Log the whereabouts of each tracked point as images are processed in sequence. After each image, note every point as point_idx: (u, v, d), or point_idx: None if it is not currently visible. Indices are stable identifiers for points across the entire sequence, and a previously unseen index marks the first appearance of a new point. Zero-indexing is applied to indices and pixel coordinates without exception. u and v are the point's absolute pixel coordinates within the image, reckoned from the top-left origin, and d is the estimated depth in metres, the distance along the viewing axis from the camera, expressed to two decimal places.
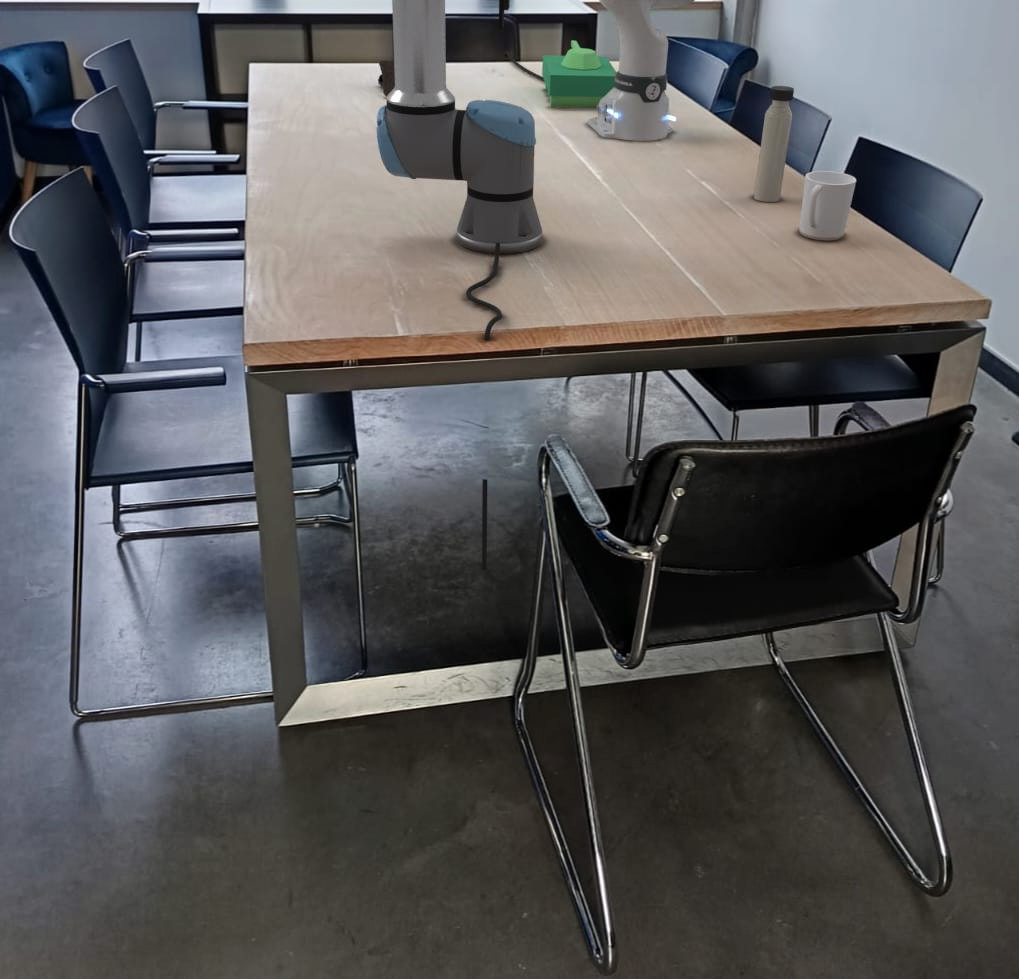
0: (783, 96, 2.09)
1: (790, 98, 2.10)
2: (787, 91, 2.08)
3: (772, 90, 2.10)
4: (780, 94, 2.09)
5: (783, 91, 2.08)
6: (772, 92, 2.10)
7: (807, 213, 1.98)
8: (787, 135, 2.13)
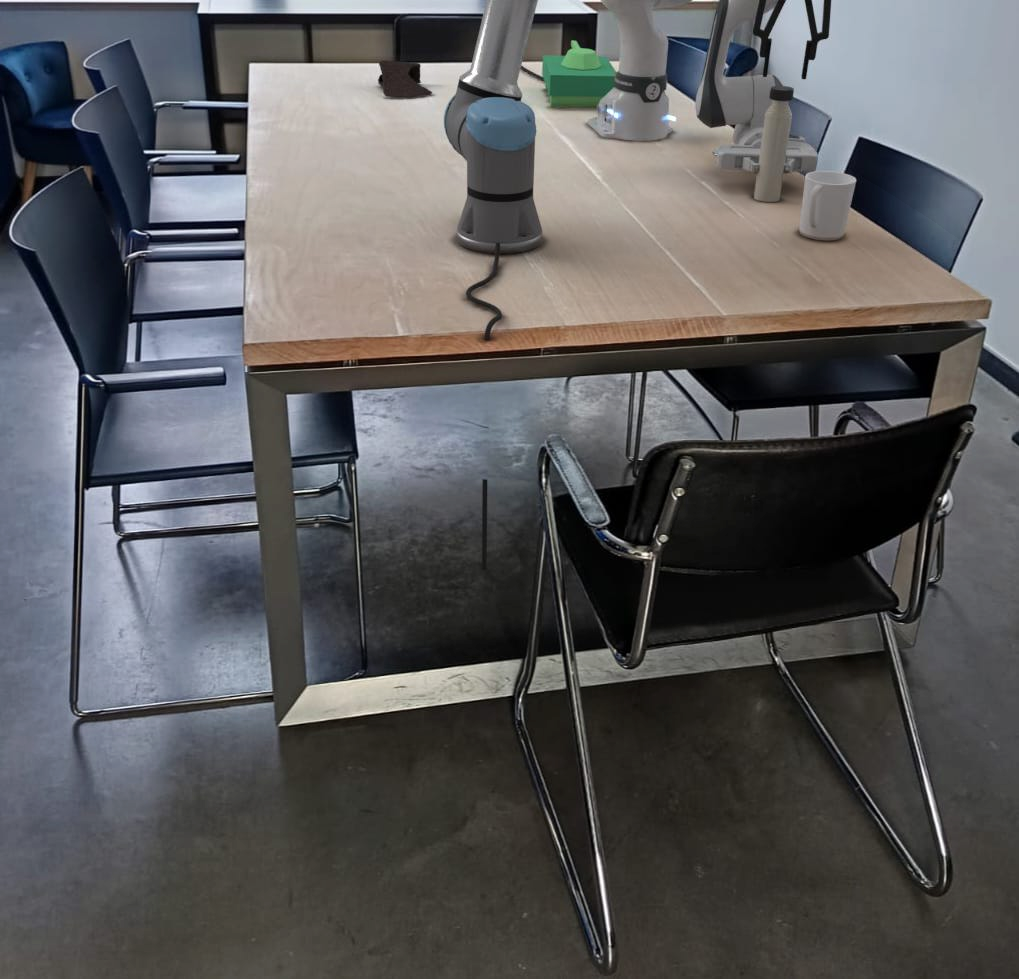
0: (783, 96, 2.09)
1: (790, 98, 2.10)
2: (787, 91, 2.08)
3: (772, 90, 2.10)
4: (780, 94, 2.09)
5: (783, 91, 2.08)
6: (772, 92, 2.10)
7: (807, 213, 1.98)
8: (787, 135, 2.13)
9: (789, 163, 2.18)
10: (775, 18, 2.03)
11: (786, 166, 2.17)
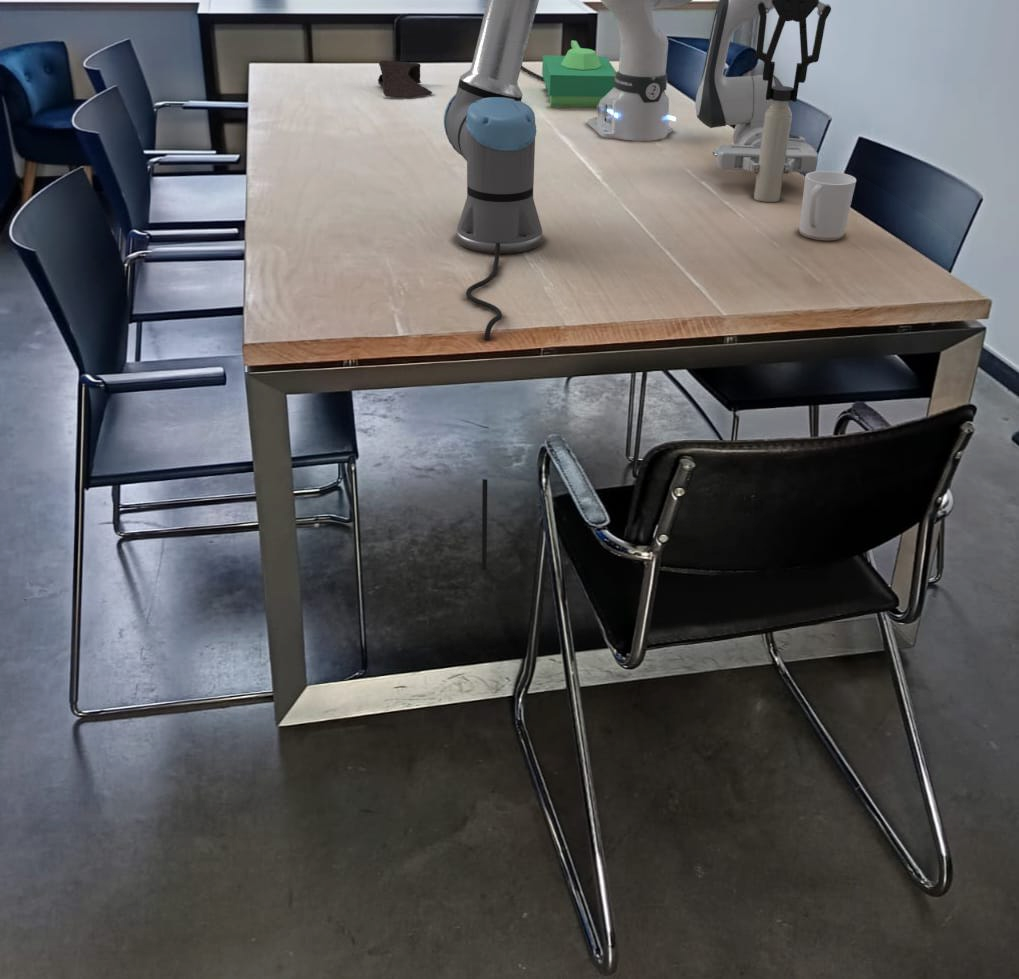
0: (783, 96, 2.09)
1: (790, 98, 2.10)
2: (787, 91, 2.08)
3: (772, 90, 2.10)
4: (780, 94, 2.09)
5: (783, 91, 2.08)
6: (772, 92, 2.10)
7: (807, 213, 1.98)
8: (787, 135, 2.13)
9: (789, 163, 2.18)
10: (776, 41, 2.05)
11: (786, 166, 2.17)
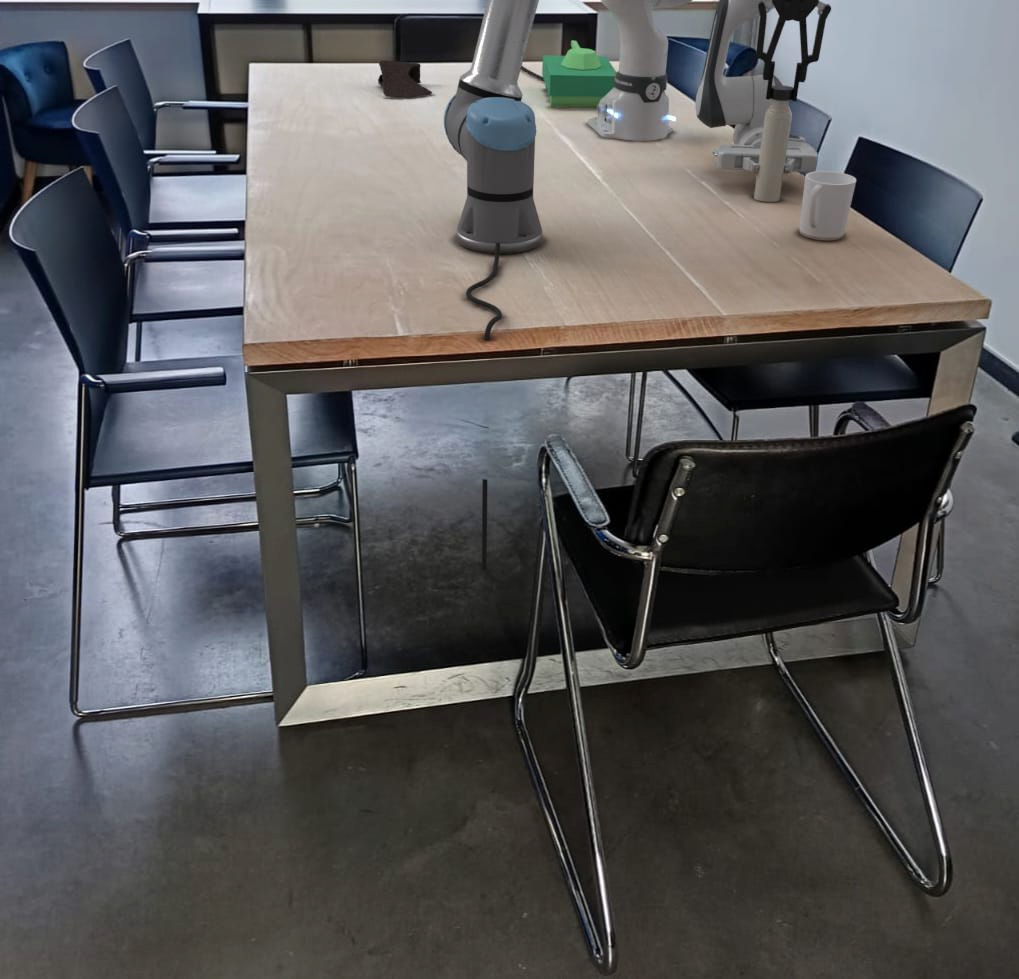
0: None
1: None
2: None
3: (787, 91, 2.08)
4: None
5: (793, 89, 2.10)
6: (787, 93, 2.09)
7: (807, 213, 1.98)
8: (787, 135, 2.13)
9: (789, 163, 2.18)
10: (776, 40, 2.05)
11: (786, 166, 2.17)
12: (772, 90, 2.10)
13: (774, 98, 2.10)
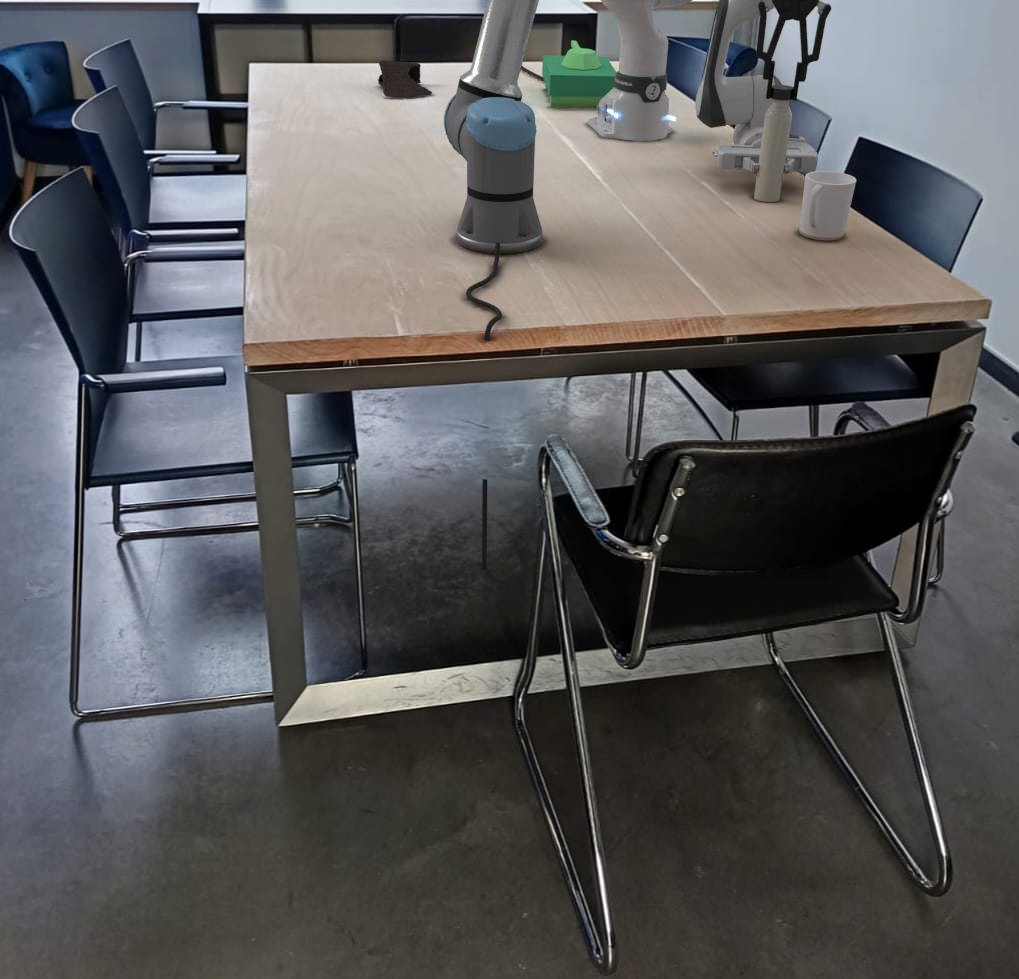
0: None
1: None
2: None
3: None
4: None
5: None
6: None
7: (807, 213, 1.98)
8: (787, 135, 2.13)
9: (789, 163, 2.18)
10: (776, 40, 2.05)
11: (786, 166, 2.17)
12: (787, 91, 2.08)
13: (790, 98, 2.09)
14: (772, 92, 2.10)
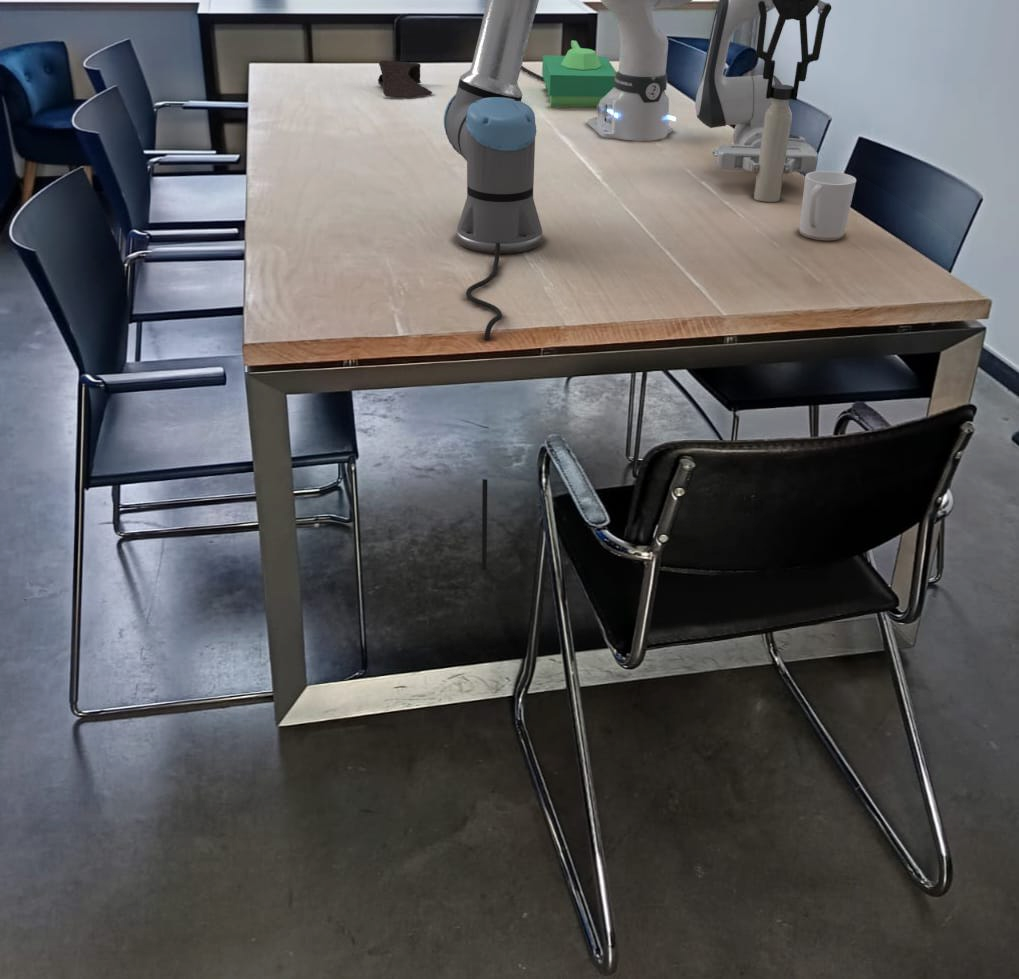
0: None
1: (773, 96, 2.10)
2: None
3: None
4: None
5: None
6: None
7: (807, 213, 1.98)
8: (787, 135, 2.13)
9: (789, 163, 2.18)
10: (776, 39, 2.05)
11: (786, 166, 2.17)
12: None
13: None
14: (788, 93, 2.09)
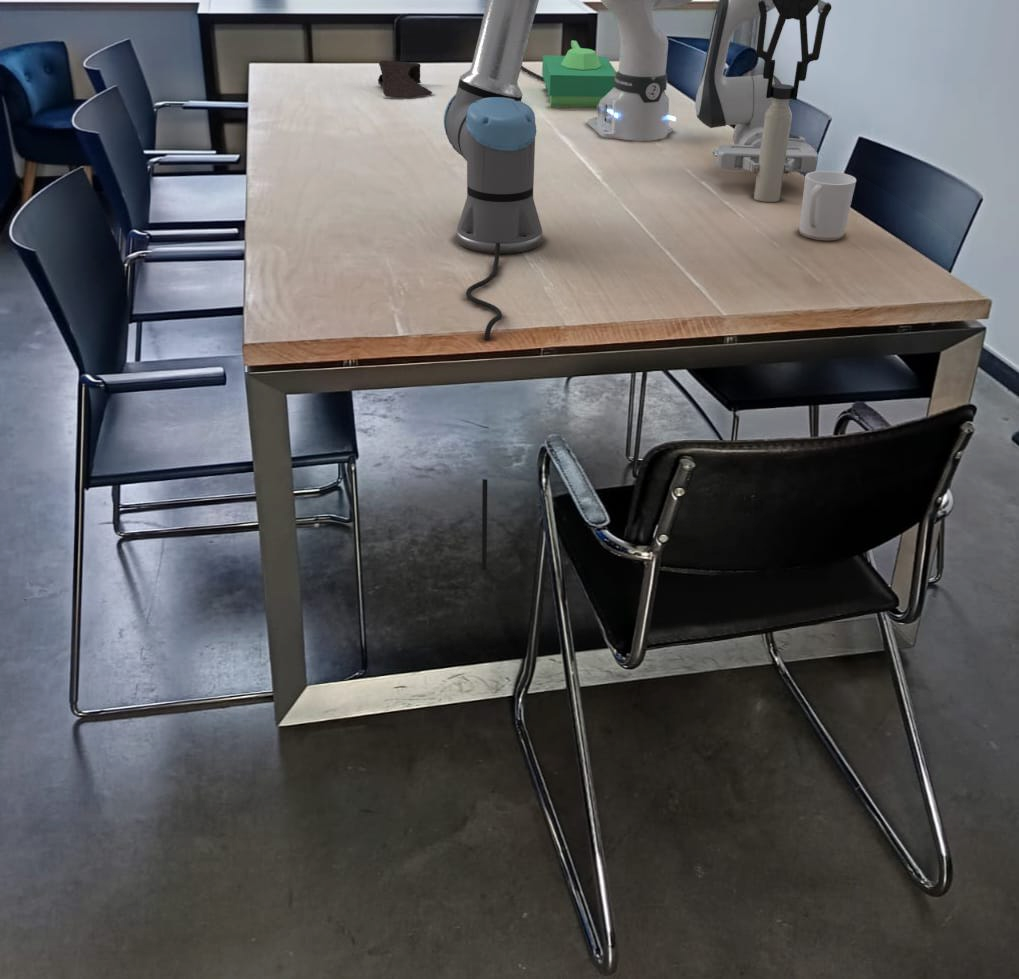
0: (781, 94, 2.09)
1: (789, 96, 2.09)
2: (785, 89, 2.08)
3: None
4: (778, 92, 2.09)
5: (781, 89, 2.08)
6: (771, 90, 2.10)
7: (807, 213, 1.98)
8: (787, 135, 2.13)
9: (789, 163, 2.18)
10: (776, 39, 2.05)
11: (786, 166, 2.17)
12: None
13: None
14: None
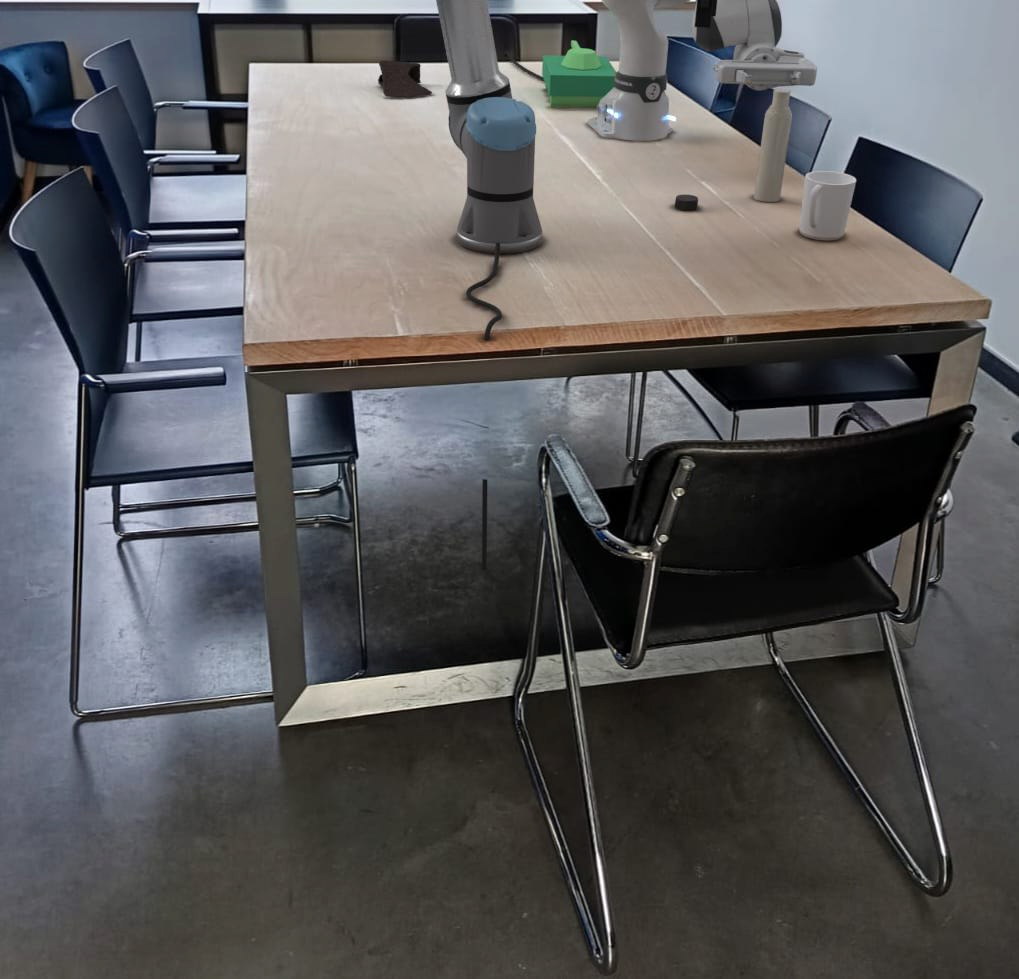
0: None
1: None
2: None
3: None
4: None
5: None
6: None
7: (807, 213, 1.98)
8: (787, 135, 2.13)
9: (796, 75, 2.21)
10: None
11: (793, 78, 2.20)
12: (689, 203, 2.12)
13: (692, 209, 2.13)
14: (676, 202, 2.14)
